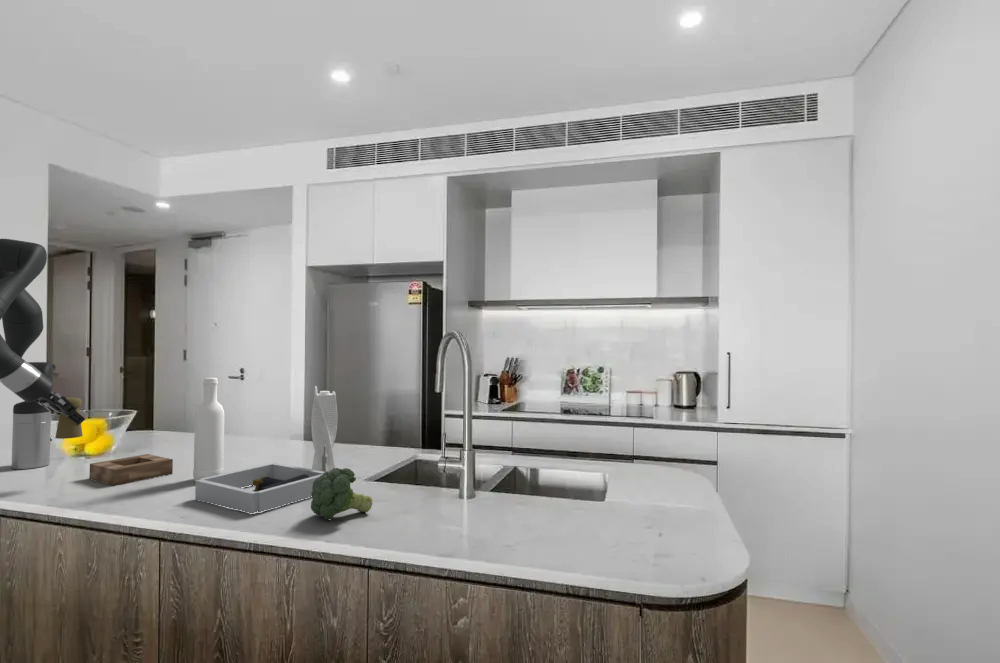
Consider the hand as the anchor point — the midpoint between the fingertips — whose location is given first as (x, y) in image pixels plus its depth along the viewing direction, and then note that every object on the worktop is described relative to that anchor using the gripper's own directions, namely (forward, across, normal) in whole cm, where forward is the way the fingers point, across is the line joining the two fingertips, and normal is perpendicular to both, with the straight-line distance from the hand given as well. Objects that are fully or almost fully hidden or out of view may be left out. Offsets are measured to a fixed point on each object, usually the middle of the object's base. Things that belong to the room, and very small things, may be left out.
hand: (77, 420), depth 154 cm
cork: (+2, 0, +4) cm, 5 cm away
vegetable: (+26, -84, -1) cm, 88 cm away
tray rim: (+27, -55, -2) cm, 61 cm away
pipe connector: (+27, -59, -2) cm, 65 cm away
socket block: (+21, -5, +4) cm, 22 cm away
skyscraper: (+40, -56, -15) cm, 71 cm away
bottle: (+28, -27, -3) cm, 39 cm away
